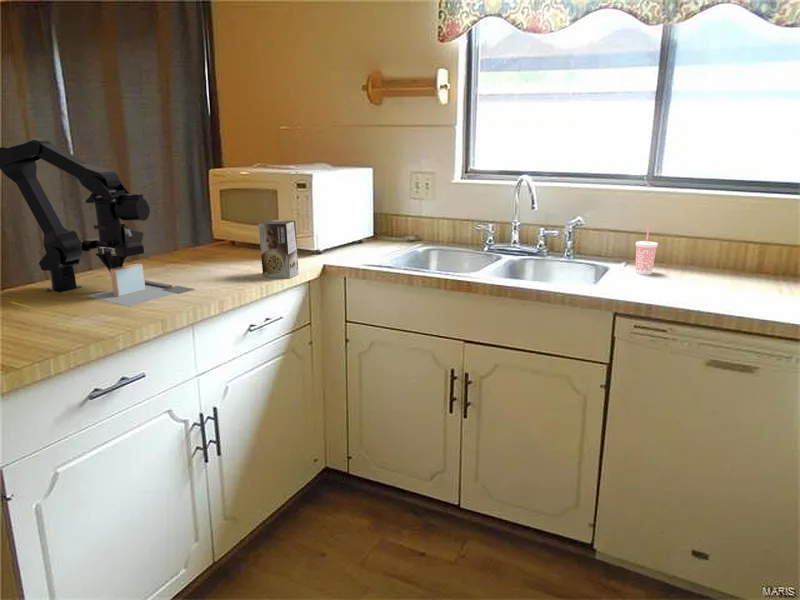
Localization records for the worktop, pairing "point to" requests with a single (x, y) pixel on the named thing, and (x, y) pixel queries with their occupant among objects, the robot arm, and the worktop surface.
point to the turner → (169, 287)
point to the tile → (127, 279)
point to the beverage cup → (645, 256)
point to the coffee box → (278, 248)
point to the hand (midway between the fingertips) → (117, 278)
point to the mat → (133, 296)
